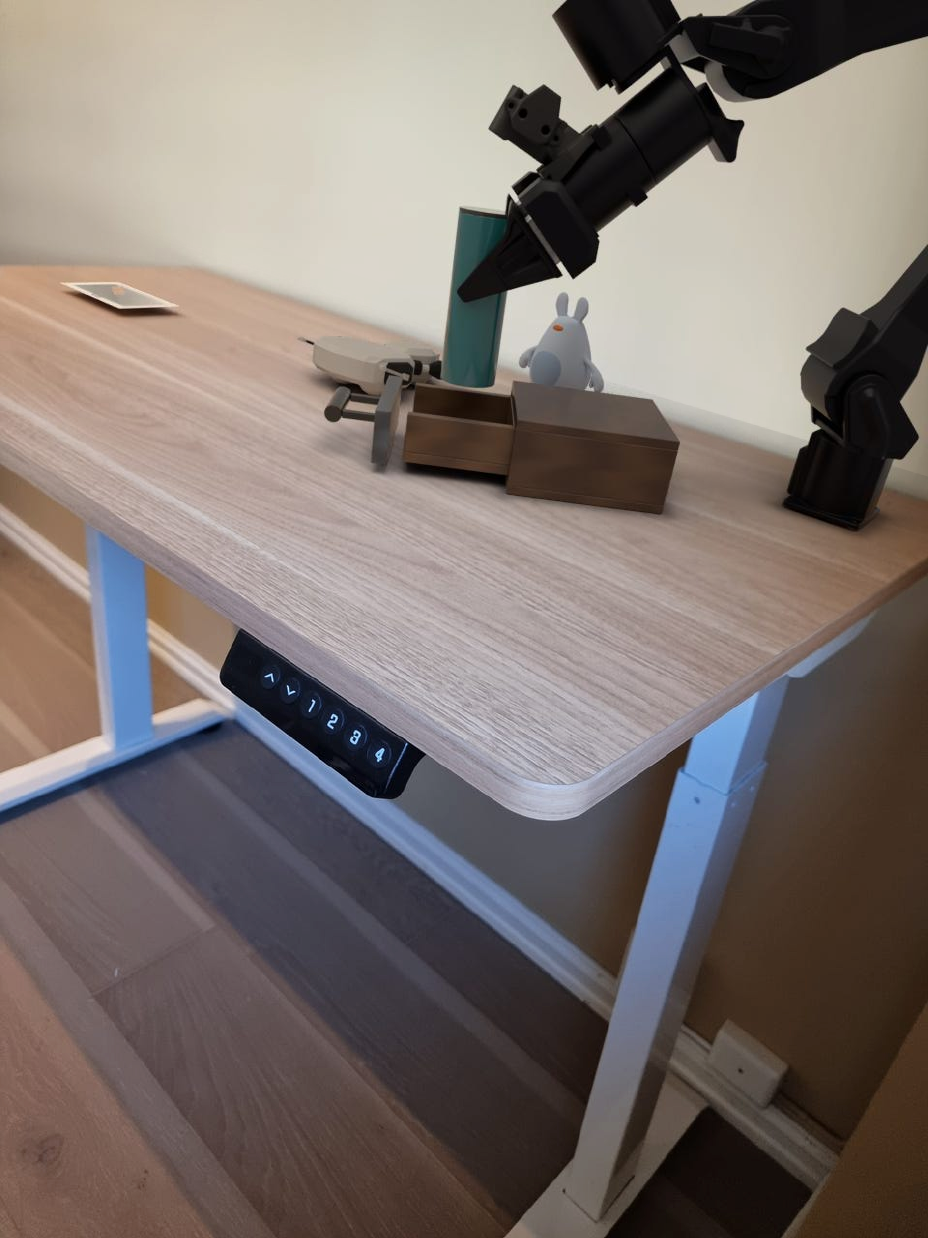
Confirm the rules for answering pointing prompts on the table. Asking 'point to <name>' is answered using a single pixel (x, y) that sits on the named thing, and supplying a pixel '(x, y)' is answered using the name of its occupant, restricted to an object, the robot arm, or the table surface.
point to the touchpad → (119, 295)
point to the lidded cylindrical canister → (473, 304)
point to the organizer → (590, 448)
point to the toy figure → (564, 351)
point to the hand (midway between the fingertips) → (460, 292)
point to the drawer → (437, 425)
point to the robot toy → (374, 362)
